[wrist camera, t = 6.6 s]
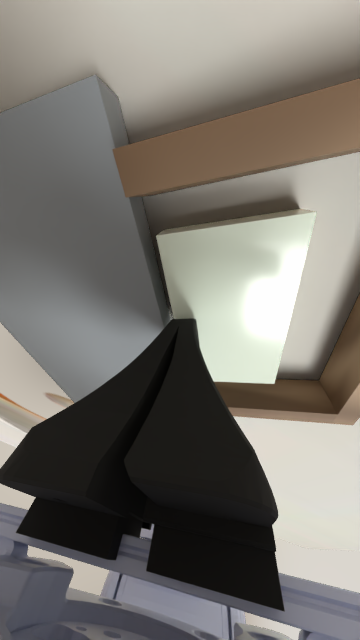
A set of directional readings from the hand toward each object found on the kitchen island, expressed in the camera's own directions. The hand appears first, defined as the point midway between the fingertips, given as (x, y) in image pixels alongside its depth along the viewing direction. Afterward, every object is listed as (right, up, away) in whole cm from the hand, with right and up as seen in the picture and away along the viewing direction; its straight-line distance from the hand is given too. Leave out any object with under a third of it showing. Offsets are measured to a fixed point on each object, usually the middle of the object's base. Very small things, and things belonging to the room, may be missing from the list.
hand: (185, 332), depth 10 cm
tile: (+3, +2, +1) cm, 3 cm away
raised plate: (-7, +1, +3) cm, 8 cm away
